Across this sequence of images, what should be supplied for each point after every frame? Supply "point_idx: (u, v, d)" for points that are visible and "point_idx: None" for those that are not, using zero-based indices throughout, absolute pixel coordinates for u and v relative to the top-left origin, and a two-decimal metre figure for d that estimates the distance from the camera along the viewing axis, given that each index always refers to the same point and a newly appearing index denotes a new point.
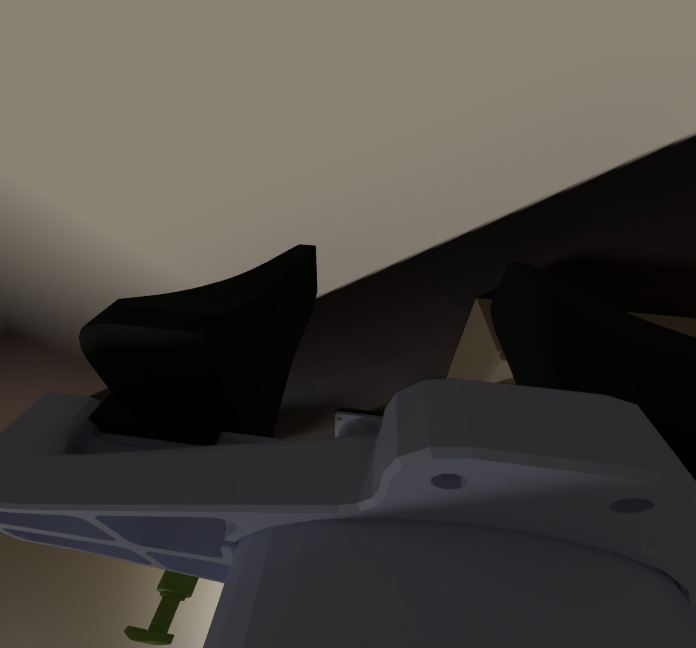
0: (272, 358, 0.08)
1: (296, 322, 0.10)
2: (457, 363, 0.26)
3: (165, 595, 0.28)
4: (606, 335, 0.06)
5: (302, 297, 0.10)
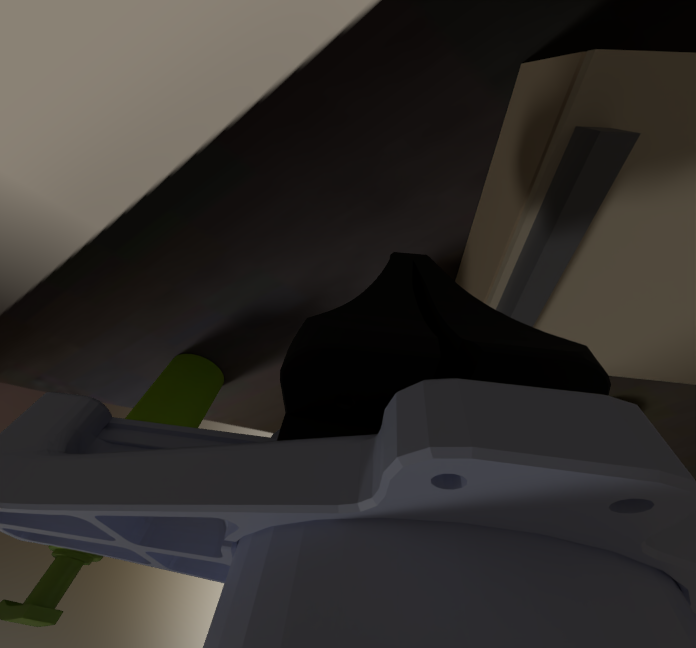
0: None
1: None
2: (485, 201, 0.17)
3: (58, 555, 0.19)
4: (436, 319, 0.06)
5: None
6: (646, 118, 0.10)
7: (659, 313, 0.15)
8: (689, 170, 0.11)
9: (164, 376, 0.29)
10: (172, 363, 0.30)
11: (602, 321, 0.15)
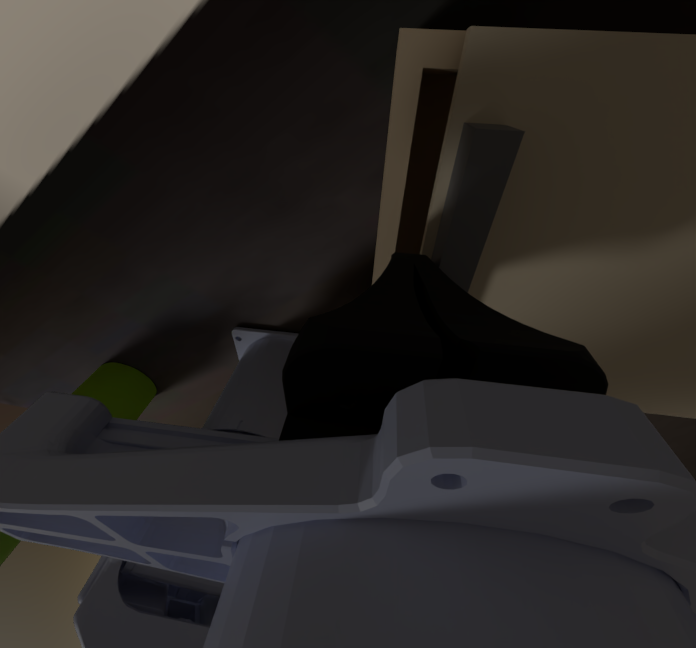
0: None
1: None
2: (380, 204, 0.16)
3: None
4: (435, 318, 0.06)
5: None
6: (545, 113, 0.08)
7: (593, 337, 0.13)
8: (604, 176, 0.09)
9: (82, 387, 0.27)
10: (95, 373, 0.29)
11: None
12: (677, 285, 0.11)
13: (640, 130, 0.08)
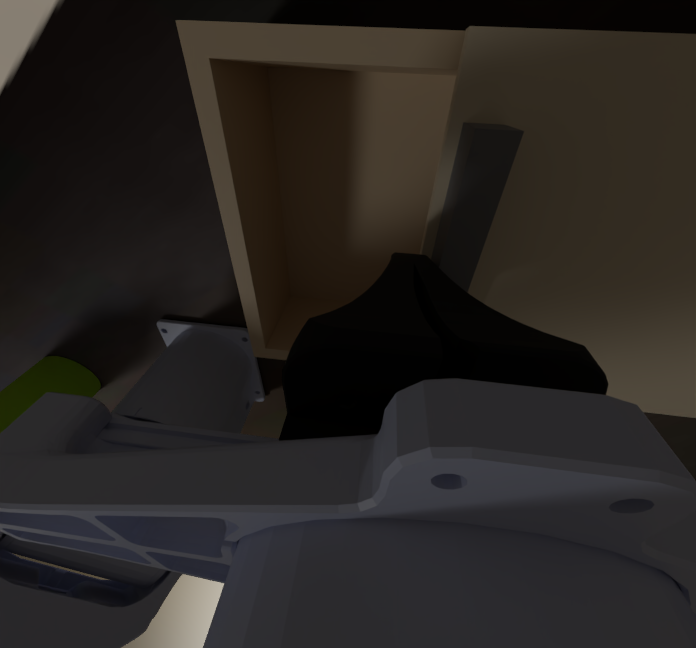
0: None
1: None
2: None
3: None
4: (435, 318, 0.06)
5: None
6: (544, 113, 0.08)
7: (593, 336, 0.13)
8: (604, 176, 0.09)
9: (17, 380, 0.28)
10: (34, 366, 0.29)
11: None
12: (677, 284, 0.11)
13: (639, 129, 0.08)
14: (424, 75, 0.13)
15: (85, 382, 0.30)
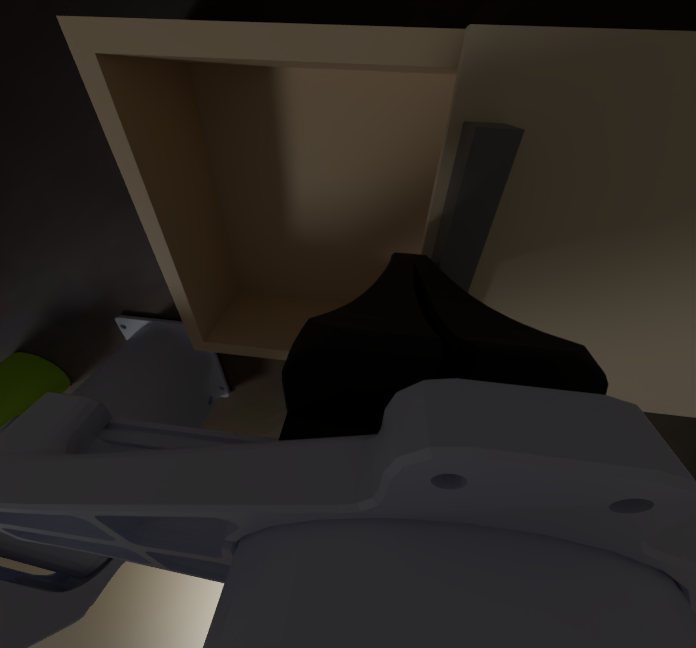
0: None
1: None
2: None
3: None
4: (435, 319, 0.06)
5: None
6: (545, 111, 0.08)
7: (595, 336, 0.13)
8: (605, 174, 0.09)
9: None
10: (0, 362, 0.29)
11: None
12: (679, 283, 0.11)
13: (641, 128, 0.08)
14: (339, 70, 0.13)
15: (53, 378, 0.31)
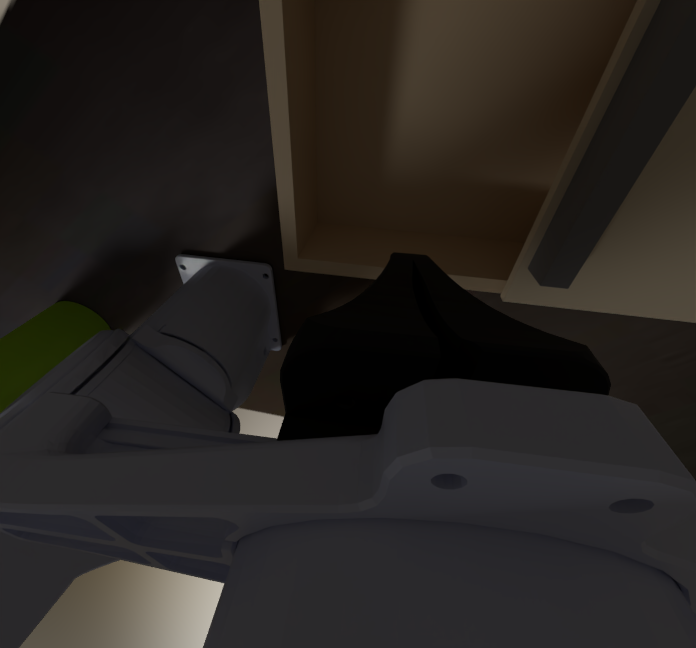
0: None
1: None
2: None
3: None
4: (436, 319, 0.06)
5: None
6: None
7: None
8: None
9: (29, 321, 0.27)
10: None
11: (674, 245, 0.13)
12: None
13: None
14: None
15: (97, 329, 0.30)
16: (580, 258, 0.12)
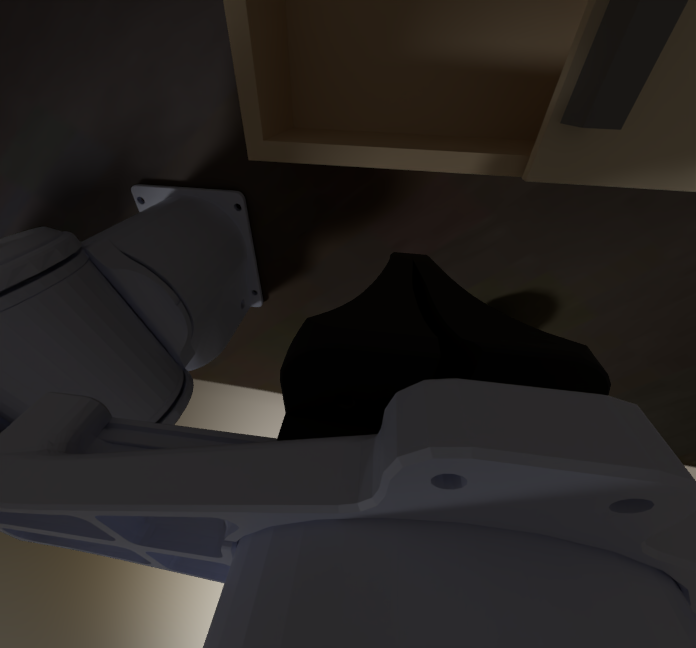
0: None
1: None
2: None
3: None
4: (436, 319, 0.06)
5: None
6: None
7: None
8: None
9: None
10: None
11: None
12: None
13: None
14: None
15: None
16: (642, 71, 0.09)
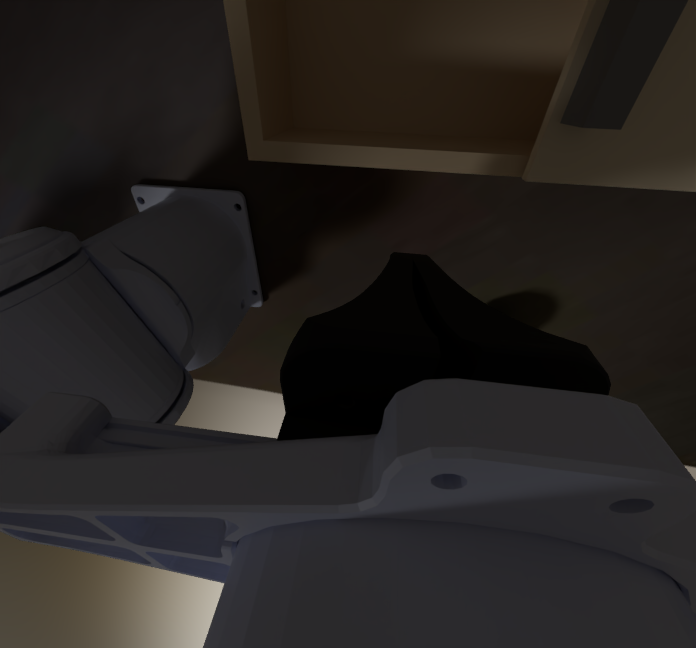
0: None
1: None
2: None
3: None
4: (436, 319, 0.06)
5: None
6: None
7: None
8: None
9: None
10: None
11: None
12: None
13: None
14: None
15: None
16: (642, 71, 0.09)
